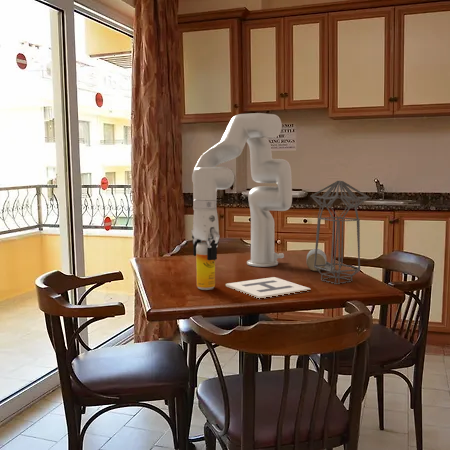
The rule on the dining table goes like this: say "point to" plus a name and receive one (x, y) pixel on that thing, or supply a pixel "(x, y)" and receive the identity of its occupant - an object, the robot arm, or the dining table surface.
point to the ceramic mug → (317, 260)
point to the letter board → (267, 287)
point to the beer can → (204, 268)
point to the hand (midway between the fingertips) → (204, 257)
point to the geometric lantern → (338, 226)
